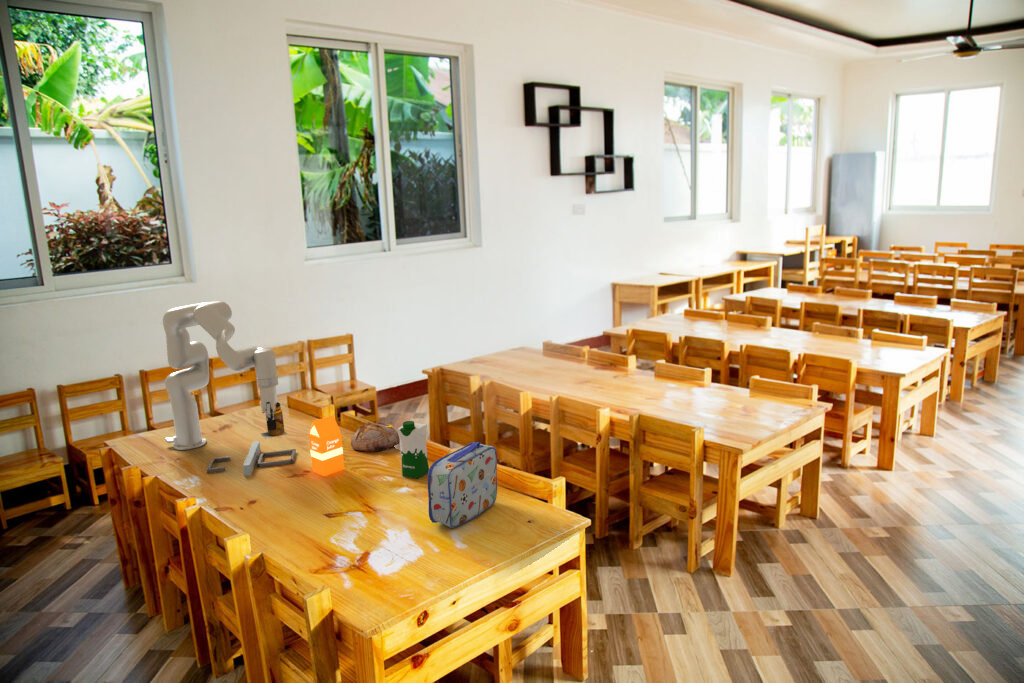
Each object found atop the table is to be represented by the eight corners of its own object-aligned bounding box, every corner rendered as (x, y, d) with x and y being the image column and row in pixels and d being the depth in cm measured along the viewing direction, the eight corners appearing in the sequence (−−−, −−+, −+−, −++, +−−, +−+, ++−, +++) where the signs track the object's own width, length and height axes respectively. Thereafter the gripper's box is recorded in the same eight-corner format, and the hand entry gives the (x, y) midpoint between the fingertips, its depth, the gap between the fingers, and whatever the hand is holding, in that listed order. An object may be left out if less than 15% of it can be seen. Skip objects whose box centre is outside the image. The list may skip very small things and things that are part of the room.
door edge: (244, 476, 261) (242, 465, 260) (254, 451, 286) (253, 441, 285) (251, 475, 261) (249, 464, 260) (260, 450, 286) (259, 441, 285)
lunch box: (477, 494, 236) (474, 431, 231) (504, 500, 230) (501, 435, 226) (425, 529, 213) (420, 460, 209) (453, 536, 208) (448, 465, 203)
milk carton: (398, 477, 253) (394, 423, 249) (412, 467, 261) (408, 415, 257) (419, 480, 249) (415, 426, 245) (433, 470, 257) (429, 418, 253)
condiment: (288, 434, 272) (284, 404, 269) (265, 439, 267) (261, 408, 265) (282, 429, 278) (278, 399, 275) (260, 434, 273) (256, 404, 271)
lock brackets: (206, 473, 265) (206, 469, 264) (213, 461, 276) (212, 458, 276) (293, 463, 271) (292, 459, 270) (296, 452, 282) (295, 448, 282)
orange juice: (344, 468, 263) (339, 417, 259) (324, 476, 257) (318, 423, 253) (332, 464, 268) (327, 413, 264) (312, 471, 262) (306, 419, 258)
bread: (348, 446, 290) (345, 422, 288) (395, 437, 297) (393, 414, 296) (356, 457, 275) (353, 432, 273) (406, 447, 282) (403, 422, 281)
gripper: (260, 376, 276) (265, 421, 280) (253, 388, 259) (259, 435, 263) (280, 375, 277) (285, 419, 281) (275, 386, 261) (281, 433, 265)
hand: (273, 426), depth 272 cm, fingers closed on condiment, 6 cm apart
